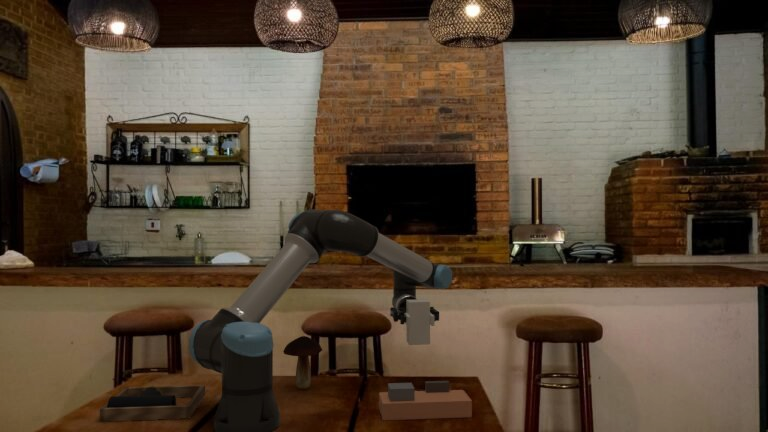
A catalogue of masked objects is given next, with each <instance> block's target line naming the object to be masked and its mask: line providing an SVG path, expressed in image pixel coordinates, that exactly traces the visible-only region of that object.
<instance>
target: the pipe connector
mask: <svg viewBox="0 0 768 432" xmlns="http://www.w3.org/2000/svg"><path fill="white" fill-rule="evenodd" d="M145 387H146V388H145V389H144V390H143V391H142V393H141V394H140V395H139V396H116V395H114V396H110V397H109V399H108V402H107V403H108V404H107V403H106V404H107V408H118V407H148V406H177V398H176V397H175V395H163V394H162V387H155V386H153V385H152V386H145Z"/></svg>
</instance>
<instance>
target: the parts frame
mask: <svg viewBox="0 0 768 432" xmlns="http://www.w3.org/2000/svg"><path fill="white" fill-rule="evenodd" d="M146 387H147V386H132V387H127V386H126V387H124V388H122V390H121V391H119V392H118V393H117V394H116V395H115V396H139V395H140V394H141V393H142V391H143V390H144V389H145V388H146ZM155 387H162V394H163V395H175V397H176V399H181V398H180V397H192V398H191V399H190V400H189V401H188V403H187V404H186V405H185V404H182V405H180V404H179V405H176V406H148V407H118V408H107V404H108V402H106V404H104V405H103V406H102V407H100V409H99V423H105V422H107V423H109V421H113V422H129V421H128V420H141V421H159V420H158V419H169V420H179V419H178V418H189V417H191V418H192V416H193V415H194V413H195V412H196V410H197V409H198V407H199V406H200V404H201V403H202V401H203V400H204V398H205V397H206V384H198V385H197V384H196V385H195V384H193V385H191V384H190V385H189V384H188V385H164V386H163V385H159V386H155ZM204 396H205V397H204ZM203 397H204V398H203ZM202 399H203V400H202ZM201 400H202V401H201ZM200 402H201V403H200ZM199 403H200V404H199ZM198 405H199V406H198ZM197 406H198V407H197ZM196 408H197V409H196ZM195 409H196V410H195ZM194 411H195V412H194ZM193 412H194V413H193ZM192 414H193V415H192ZM191 415H192V416H191Z"/></svg>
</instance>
